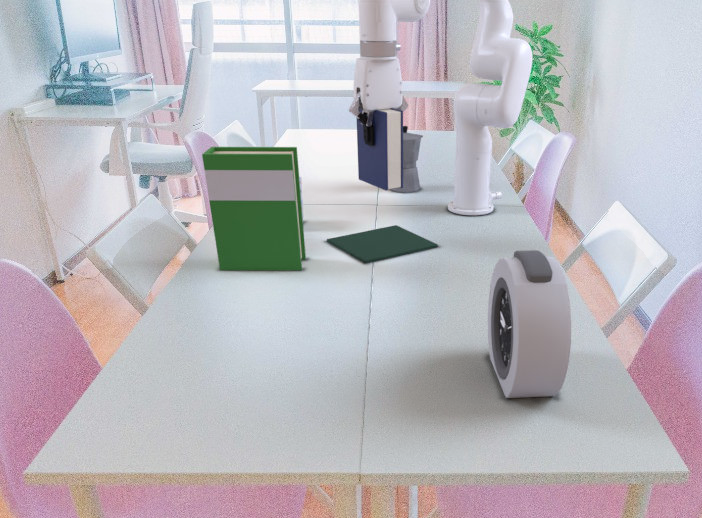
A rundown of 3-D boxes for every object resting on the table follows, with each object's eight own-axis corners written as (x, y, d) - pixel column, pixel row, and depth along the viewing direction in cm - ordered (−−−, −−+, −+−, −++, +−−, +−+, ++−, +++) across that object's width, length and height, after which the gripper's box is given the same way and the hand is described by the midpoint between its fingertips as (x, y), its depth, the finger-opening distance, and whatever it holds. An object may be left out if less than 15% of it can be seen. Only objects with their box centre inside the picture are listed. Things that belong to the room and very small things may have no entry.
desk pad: (396, 227, 169) (396, 225, 169) (437, 246, 157) (437, 244, 156) (326, 241, 160) (326, 239, 159) (365, 263, 147) (365, 260, 147)
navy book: (374, 176, 156) (373, 103, 148) (403, 187, 148) (403, 110, 140) (358, 179, 154) (355, 105, 146) (386, 190, 146) (385, 112, 137)
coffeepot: (411, 182, 208) (412, 121, 198) (431, 188, 202) (432, 125, 192) (372, 190, 200) (371, 126, 190) (391, 197, 194) (391, 131, 184)
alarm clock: (485, 345, 114) (493, 232, 103) (527, 343, 114) (540, 231, 104) (511, 413, 96) (525, 284, 85) (562, 410, 96) (581, 282, 86)
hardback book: (305, 258, 150) (296, 147, 137) (301, 270, 143) (291, 154, 131) (227, 258, 150) (211, 146, 137) (220, 270, 143) (202, 154, 131)
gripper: (402, 47, 144) (402, 137, 153) (333, 51, 135) (337, 145, 145) (422, 50, 138) (420, 142, 148) (351, 53, 130) (355, 151, 140)
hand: (379, 142), depth 146 cm, fingers closed on navy book, 4 cm apart
